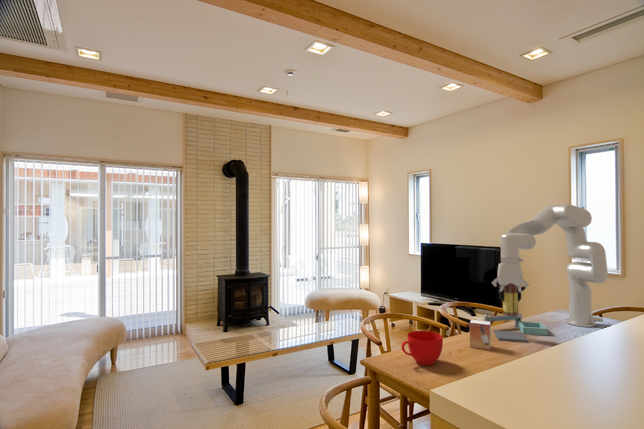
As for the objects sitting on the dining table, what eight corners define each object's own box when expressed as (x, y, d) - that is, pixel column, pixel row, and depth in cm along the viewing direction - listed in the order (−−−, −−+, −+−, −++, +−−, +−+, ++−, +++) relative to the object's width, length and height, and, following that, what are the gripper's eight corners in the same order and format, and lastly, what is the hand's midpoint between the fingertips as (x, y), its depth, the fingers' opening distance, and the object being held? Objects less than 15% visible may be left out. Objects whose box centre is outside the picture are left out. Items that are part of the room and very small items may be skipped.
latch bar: (523, 319, 189) (523, 313, 189) (487, 322, 184) (487, 316, 184) (518, 317, 193) (518, 311, 193) (482, 320, 188) (482, 314, 188)
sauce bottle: (515, 313, 177) (515, 270, 177) (520, 316, 170) (521, 272, 171) (500, 312, 177) (500, 270, 177) (505, 316, 171) (505, 272, 171)
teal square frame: (539, 327, 189) (539, 320, 189) (548, 335, 176) (547, 327, 176) (514, 325, 192) (514, 318, 192) (520, 333, 179) (520, 325, 179)
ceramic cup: (392, 360, 146) (391, 334, 146) (427, 354, 153) (427, 329, 153) (413, 372, 134) (413, 344, 134) (450, 365, 141) (450, 338, 141)
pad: (522, 334, 178) (521, 332, 178) (528, 342, 166) (528, 340, 166) (494, 332, 181) (494, 330, 181) (498, 340, 170) (498, 338, 170)
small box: (469, 347, 161) (469, 322, 161) (471, 343, 166) (470, 319, 166) (490, 350, 157) (489, 324, 157) (491, 346, 162) (490, 321, 162)
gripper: (528, 260, 176) (529, 299, 175) (488, 259, 180) (488, 297, 180) (533, 262, 168) (533, 303, 168) (490, 261, 173) (491, 301, 173)
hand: (510, 300), depth 174 cm, fingers closed on sauce bottle, 6 cm apart
